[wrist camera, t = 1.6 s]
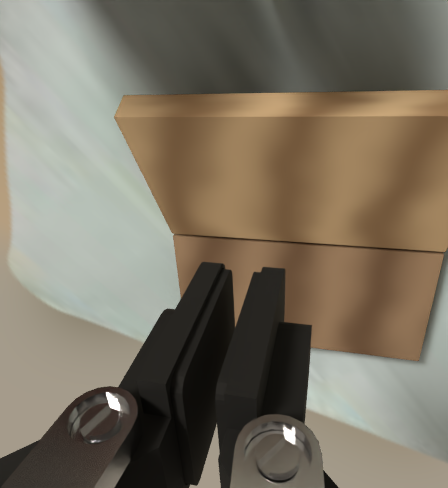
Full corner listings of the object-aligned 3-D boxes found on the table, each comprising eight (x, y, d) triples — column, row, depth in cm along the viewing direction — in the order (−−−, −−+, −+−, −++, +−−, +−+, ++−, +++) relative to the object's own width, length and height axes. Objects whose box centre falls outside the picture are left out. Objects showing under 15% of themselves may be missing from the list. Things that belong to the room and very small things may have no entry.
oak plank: (516, 88, 19) (522, 115, 18) (442, 230, 29) (445, 251, 28) (123, 95, 24) (114, 117, 23) (177, 215, 34) (172, 233, 33)
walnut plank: (438, 241, 30) (444, 254, 28) (415, 344, 35) (418, 361, 33) (180, 225, 35) (173, 235, 33) (191, 318, 40) (185, 331, 38)
